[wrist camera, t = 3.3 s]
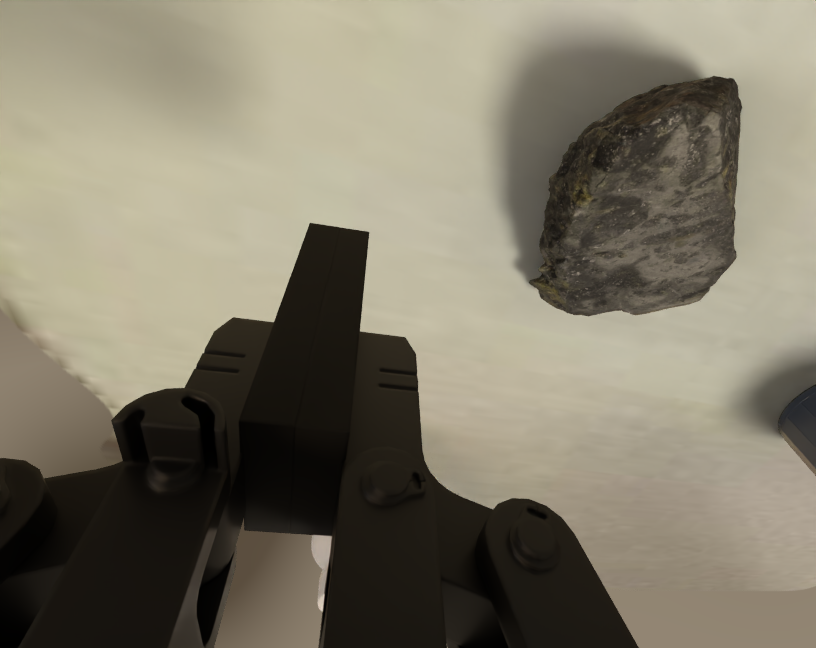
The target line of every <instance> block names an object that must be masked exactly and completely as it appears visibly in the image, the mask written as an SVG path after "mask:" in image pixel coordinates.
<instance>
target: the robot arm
mask: <svg viewBox="0 0 816 648" xmlns="http://www.w3.org/2000/svg"><path fill="white" fill-rule="evenodd" d="M368 239H369V232H365V231H359V230H352V229H346V228H339V227H333V226H326V225H320V224H313V223H310V224H309V227H308V230H307V233H306V236H305V238H304V241H303V244H302V247H301V249H300V252H299V255H298V258H297V260H296V263H295V266H294V269H293V272H292V274H291V277H290V280H289V283H288V285H287V288H286V291H285V294H284V296H283V299H282V302H281V305H280V307H279V310H278V313H277V316H276V319H275V321H274V322H265V321H257V320H249V319H241V318H232V319H230V320H229V321H228V322H226V323H225V324H224V325H222V326H221V327H220V328H218V329H217V330H216V331H214V333H213V335H212V337H211V339H210V341H209V343H208V344H207V346H206V348H205V352H204V353H203V354H202V356H201V358H200V360H199V361H198V363H197V367H196V369H194V371H193V373H192V375H191V377H190V378H189V380H188V382H187V384H186V386H185V388H173V389H164V390H160V391H157V392H153V393H149V394H146V395H144V396H142V397H140V398H138V399H136V400H135V401H133V402H131V403H129V404H128V405H126V406H125V407H124V408H123V409H122V410H121V411H120V412H119V413H118V414H117V415H116V416H115V417H114V418H113V419H112V424H113V428H114V431H115V435H116V438H117V442H118V445H119V448H120V452H121V455H122V459H123V461H122V462H119V463H117V464H115V465H111V466H108V467H104V468H100V469H96V470H90V471H84V472H78V473H73V474H67V475H61V476H56V477H51V478H45V479H44V478H43V476H42V474H41V472H40V469H38V468H36V467H35V466H33V465H31V464H30V463H28V462H26V461H24V460H15V459H6V458H1V459H0V648H214V645H215V641H216V637H217V634H218V630H219V627H220V623H221V619H222V616H223V611H224V608H225V604H226V601H227V597H228V593H229V590H230V586H231V582H232V579H233V575H234V571H235V567H236V554H237V553H236V552H237V551H236V543H237V539H238V536H239V533H240V529H241V525H242V522H243V518H244V529H245V530H247V531H262V532H277V533H291V534H307V535H321V536H332V540H331V549H330V557H329V564H328V570H327V577H326V583H325V590H324V594H325V595H324V604H323V613H322V622H321V630H320V639H319V648H447V646H448V648H639V647H638V646H637V644H636V642H635V640H634V639H633V637H632V635H631V633H630V632H629V630H628V628H627V627H626V624H625V623H624V621H623V619H622V617H621V616H620V614H619V613H618V610H617V608H616V607H615V605H614V603H613V601H612V600H611V598H610V596H609V594H608V593H607V591H606V589H605V587H604V586H603V584H602V582H601V580H600V578H599V577H598V575H597V573H596V571H595V570H594V568H593V566H592V564H591V563H590V561H589V559H588V557H587V555H586V554H585V552H584V550H583V548H582V547H581V545H580V543H579V541H578V540H577V538H576V536H575V534H574V533H573V532H572V530H571V529H570V528H569V526H568V525H567V524H566V522H565V521H564V520H563V519H562V518H561V517H560V516H559V515H557V514H556V513H555V512H554V511H552V510H551V509H550V508H548V507H547V506H545V505H543V504H540V503H538V502H535V501H532V500H530V499H516V498H512V499H509V500H507V501H504V502H502V503H499V504H498V505H497V506H496V507H495V508H494V509H490V508H488V507H485V506H483V505H480V504H478V503H475V502H473V501H470V500H468V499H465V498H463V497H460V496H458V495H457V494H455V493H453V492H451V491H449V490H448V489H446V488H445V487H444V486H443V485H441V484H440V483H439V482H438V481H437V480H436V479H435V477H434V476H433V475H432V474H431V473H430V471H429V469H428V467H427V465H426V463H425V461H424V456H423V451H422V438H421V423H420V408H419V393H418V379H417V364H416V354H415V352H414V350H413V349H412V347H411V346H410V344H409V343H408V341H407V339H406V338H405V337H398V336H390V335H382V334H374V333H366V332H360V322H361V312H362V301H363V291H364V280H365V270H366V260H367V249H368ZM446 643H447V644H446Z"/></svg>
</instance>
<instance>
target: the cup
mask: <svg viewBox="0 0 816 648" xmlns="http://www.w3.org/2000/svg"><path fill="white" fill-rule="evenodd" d="M778 429H779V432H780V434H781V435H782V436H783V437H784V439H785V441H786V442H787V443H788V445H789V446H790V447H791V448H792V449H793V450H794V451H795V453H796V454H797V455H798V456H799V457H800V458H801V459H802V461H803V462H804V463H805V464H806V465H807V466H808V468H809V469H810V470H811V471H812V472H813V473H814V474H815V476H816V385H815V386H813V387H811V388H810V389H808V390H806V391H805V392H803V393H802V394H800V395H799V396H798V397H797V398H795V399H794V400H793V401H792V402H791V403H790V404H789V405H788V406H787V407H786V408H785V410H784V411H783V413H782V414H781V416H780V418H779V422H778Z"/></svg>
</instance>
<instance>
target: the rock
mask: <svg viewBox="0 0 816 648" xmlns="http://www.w3.org/2000/svg"><path fill="white" fill-rule="evenodd" d="M741 109H742V105H741V101H740V99H739V98H738V85H737V84H736V82H735V80H734V79H732V78H728V79H726V78H722V77H716V76H713V77H710V78H704V79H700V80H696V81H691V82H683V83H678V84H674V85H670V86H667V85H662V86H659V87H656V88H654V89H652V90H651V91H649V92H648V93H644V94H640V95H637V96H634V97H632V98H631V99H629V100H627V101H625V102H623V103H622V104H621V105H619V106H617V107H616V108H615V109H614V111H613V112H611V113H609V114H607V115H606V116H605V117H603V118H602V119H601V120H599V121H596V122H593V123H592V124H591V125H589V126H588V127H587V128H586V129H585V130H584V131H583V132H582V134H581V135H580V136H579V138H578V140H577V142H573V143H572V144H570V146H569V149H568V151H567V152H566V153H565V154H564V156H563V159H562V162H561V165H560V167H559V169H558V171H557V173H555V174H554V175H552V176H551V177H550V178H549V185H550V188H549V192H550V196H549V200H548V202H547V205H546V210H545V221H544V230H543V232H542V236H541V239H540V244H539V247H540V251H541V253H542V255H543V259H544V261H545V263H544V264H543V265H542V266H541V267H540V268H539V269H538V270H539V272H541V273H542V276H541V277H539V278H537V279H533V280H530V282H529V283H530V284H531V285H533V286H534V287H535V288H537V289H538V290H539V294H540V297H541V298H542V299H543V300H545V301H546V302H547V303H549V304H550V305H552V306H554V307H555V308H557V309H560V310H563V311H565V312H567V313H570V314H573V315H585V316H592V315H596V314H600V313H605V312H610V311H619V310H622V311H623V312H628V313H630V314H633V315H640V314H646V313H650V312H655V311H659V310H663V309H667V308H672V307H677V306H682V305H688V304H691V303H694V302H696V301H699V300H701V299H702V297H703V296H704V295H705V294H706V293H707V292H708V291H709V289H710V287H711V286H712V285H714V284H715V283H716V282H717V280H718V279H719V278H720V276H721V275H722V274H723V273H724V272H725V271H726V270H727V269H728V268H729V267H730V265H731V264H732V263H733V262H734V260H735V259H736V251H735V249H734V230H735V227H734V221H735V213H736V212H735V208H734V204H735V192H736V186H737V171H738V153H739V137H740V112H741Z"/></svg>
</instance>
